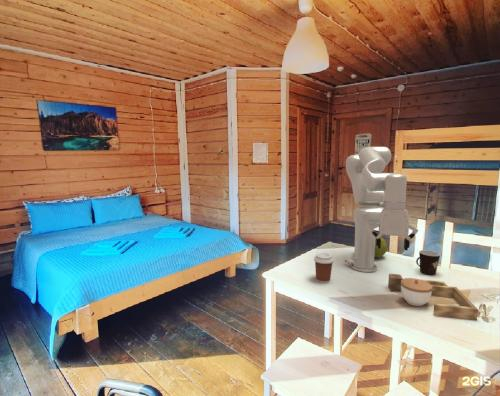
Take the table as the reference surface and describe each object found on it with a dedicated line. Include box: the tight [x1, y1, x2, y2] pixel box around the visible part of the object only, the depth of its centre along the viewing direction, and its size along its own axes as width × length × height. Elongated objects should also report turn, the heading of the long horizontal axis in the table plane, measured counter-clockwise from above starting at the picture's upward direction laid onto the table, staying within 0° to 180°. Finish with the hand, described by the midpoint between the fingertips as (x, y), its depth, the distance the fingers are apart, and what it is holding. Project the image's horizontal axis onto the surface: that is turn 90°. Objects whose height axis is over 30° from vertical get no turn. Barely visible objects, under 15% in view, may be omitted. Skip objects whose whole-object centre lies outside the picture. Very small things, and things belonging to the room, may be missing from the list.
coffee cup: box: [313, 252, 335, 284], centre depth 134 cm, size 9×9×12 cm
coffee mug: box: [415, 249, 441, 276], centre depth 141 cm, size 12×9×10 cm
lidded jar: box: [400, 277, 433, 307], centre depth 113 cm, size 11×11×9 cm
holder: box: [422, 279, 479, 321], centre depth 115 cm, size 13×26×4 cm, turn 166°
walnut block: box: [387, 273, 404, 293], centre depth 124 cm, size 4×4×6 cm
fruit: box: [374, 236, 388, 259], centre depth 163 cm, size 16×14×15 cm
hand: (392, 248), depth 115 cm, fingers open, 9 cm apart
